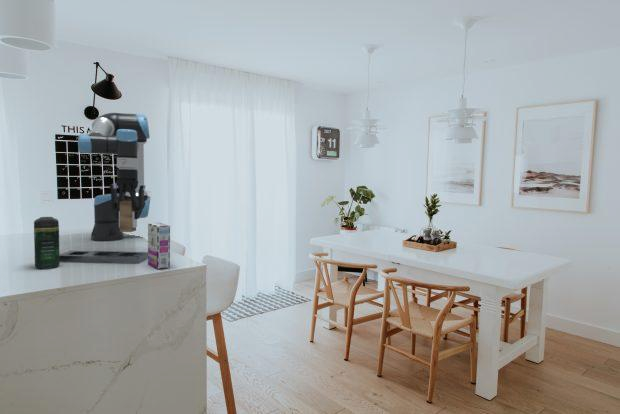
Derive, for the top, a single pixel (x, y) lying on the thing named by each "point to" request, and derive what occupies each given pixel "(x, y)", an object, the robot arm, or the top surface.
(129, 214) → the walnut peg
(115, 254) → the grey metal hole board
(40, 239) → the coffee jar
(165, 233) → the candy bar box
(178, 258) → the top surface
